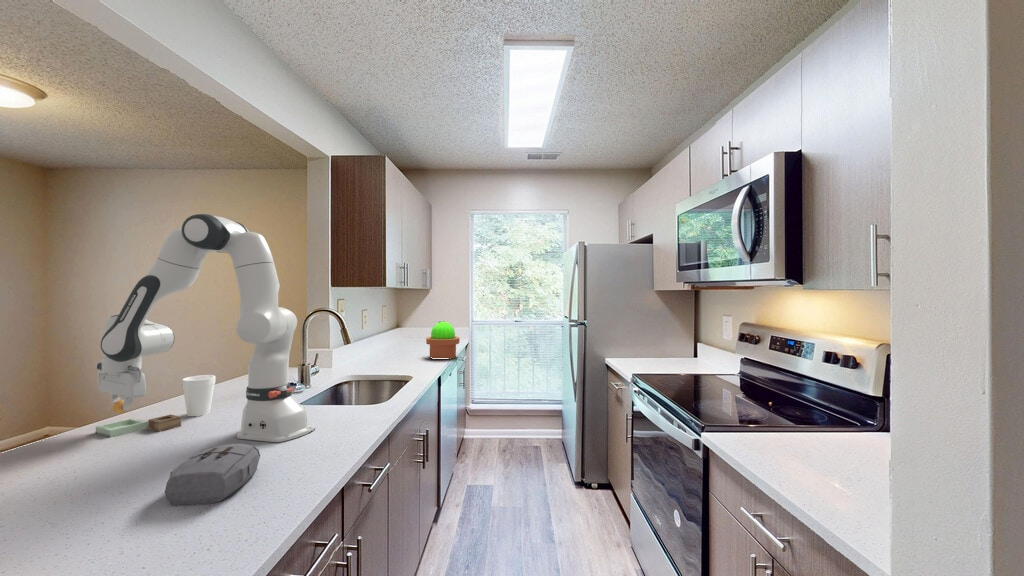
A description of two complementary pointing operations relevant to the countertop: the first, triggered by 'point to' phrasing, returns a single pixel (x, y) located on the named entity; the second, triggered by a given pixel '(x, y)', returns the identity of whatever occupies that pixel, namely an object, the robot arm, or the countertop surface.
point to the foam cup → (198, 394)
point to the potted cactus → (442, 341)
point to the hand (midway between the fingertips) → (121, 408)
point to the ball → (118, 407)
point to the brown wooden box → (164, 423)
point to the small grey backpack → (212, 475)
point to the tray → (121, 427)
